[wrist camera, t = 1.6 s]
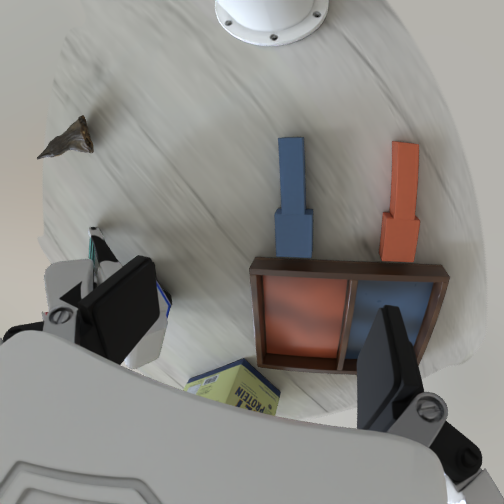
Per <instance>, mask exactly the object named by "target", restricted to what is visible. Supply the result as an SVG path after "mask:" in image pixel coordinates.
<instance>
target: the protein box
mask: <svg viewBox="0 0 504 504" xmlns="http://www.w3.org/2000/svg"><path fill="white" fill-rule="evenodd" d="M183 391H186V392H189V393H192V394H195V395H198V396H201V397H205V398H208V399H211V400H214V401H218V402H221V403H225V404H228V405H232V406H235V407H239V408H243V409H247V410H251V411H255V412H259V413H264V414H268V415H273V416H275V414H276V410H277V406H278V402H279V398H280V393H281V392H280V391H279V390H278V389H277V388H275V387H274V386H273V385H272V384H271V383H270V382H269V381H268V380H267V379H265V378H264V377H263V376H262V375H261V374H260V373H259V372H258V371H257V370H256V369H255V368H253V367H252V366H251V365H250V364H249V363H248V362H247V361H246V360H245V359H244V358H243V359H241V360H238V361H236V362H233V363H231V364H228V365H226V366H223V367H221V368H218V369H215V370H213V371H210V372H207V373H204V374H202V375H199V376H196V377H193V378H190V379H189V381H188V383H187V384H186V386H185V388H184V390H183Z"/></svg>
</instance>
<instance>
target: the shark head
mask: <svg viewBox="0 0 504 504" xmlns="http://www.w3.org/2000/svg"><path fill="white" fill-rule="evenodd" d="M87 128H88V127H87V123H86V119H85V117H84V115H82V116H80V117H79V118H78V120H77V121H76V122H74V123H73V124H72V125H71V126H70V127H69V128H68V129H67V131H66V132H64V133H63V134H62V135H60V136H57V137H55V138H54V139H53V140H52V141H50V143H49V144H48V146H47V148H46V149H45V150H44V151H43V152H42V153H41V154H40V155H39V156H38V157H37V159H41V158H44V157H54V156H59V155H62V154H63V153H64V152H66V151H68V150H75V151H79V152H89V153H93V152H94V150H93V143H92V141H91V139H90V136H89V134H88V131H87Z"/></svg>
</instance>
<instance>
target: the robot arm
mask: <svg viewBox="0 0 504 504" xmlns="http://www.w3.org/2000/svg"><path fill="white" fill-rule="evenodd" d="M328 7H329V0H215V11H216V16H217V18H218V20H219V22H220V24H221V25H222V26H223V27H224V29H225V30H227V31H228V32H229V33H230V34H231V35H233V36H234V37H236V38H237V39H240V40H242V41H244V42H247V43H251V44H255V45H262V46H279V45H284V44H290V43H293V42H296V41H298V40H301V39H303V38H305V37H307V36H308V35H310V34H311V33H313V32H314V31H315V30H316V29H318V27H319V26H320V25H321V24H322V23H323V21H324V19H325V17H326V15H327V12H328ZM315 16H319V17H318V18H317V17H315ZM230 24H232V25H231V26H229V25H230ZM274 38H277V40H275V41H273V39H274ZM78 306H79V309H78V310H77V311H76V309H75V307H73V306H72V305H68V304H62V305H58V306H56V307H54V308H52V309H51V310H50V311H49V312H48V313H47V315H46V317H45V321H43V322H36V323H31V324H25V325H19V326H14V327H11V328H10V329H9V330H8V331H7V332H6V333H5V335H4V337H3V340H2V338H0V504H504V498H503V496H502V495H501V493H500V491H499V490H498V488H497V486H496V485H495V483H494V481H493V480H492V478H491V477H490V475H489V473H488V472H487V470H486V469H484V470H482V469H481V468H480V467H481V465H482V454H481V451H480V449H479V448H478V447H477V446H476V445H475V444H474V443H473V442H471V441H470V440H469V439H468V438H466V437H465V436H464V435H463V434H462V433H460V432H459V431H458V430H457V429H455V428H454V427H453V426H452V425H451V424H449V423H448V422H447V421H446V419H447V416H448V408H447V405H446V403H445V402H444V400H443V399H442V398H441V397H440V396H438V395H437V394H435V393H430V392H424V388H423V384H422V379H421V375H420V371H419V367H418V363H417V359H416V355H415V351H414V347H413V344H412V342H410V341H409V339H408V335H407V332H406V328H405V325H404V321H403V318H402V315H401V312H400V308H399V307H398V306H392V305H384V307H383V308H381V307H380V308H379V309H378V311H377V314H376V316H375V319H374V321H373V324H372V326H371V329H370V331H369V333H368V336H367V338H366V340H365V342H364V345H363V347H362V349H361V351H360V354H359V356H358V359H357V413H358V414H357V429H355V428H346V427H337V426H330V425H323V424H317V423H310V422H305V421H299V420H293V419H288V418H282V417H278V416H273V415H268V414H264V413H259V412H255V411H251V410H247V409H243V408H239V407H235V406H232V405H228V404H225V403H221V402H218V401H214V400H211V399H208V398H205V397H201V396H198V395H195V394H192V393H189V392H186V391H183V390H181V389H178V388H175V387H172V386H169V385H167V384H164V383H162V382H159V381H156V380H154V379H151V378H149V377H146V376H144V375H141V374H139V373H137V372H134V371H132V370H130V369H127V368H125V367H123V366H121V363H122V362H123V361H124V360H125V358H126V357H127V356H128V355H129V354H130V352H131V351H132V350H133V349H134V347H135V346H136V345H137V344H138V343H139V341H140V340H141V339H142V338H143V336H144V335H145V334H146V333H147V332H148V330H149V329H150V328H151V327H152V326H153V324H154V323H155V322H156V321H157V320H158V318H159V316H160V307H159V300H158V292H157V283H156V273H155V264H154V262H152V260H151V258H149V257H144V256H140V255H138V256H136V257H135V258H134V259H132V260H131V261H130V262H128V263H127V264H126V265H124V266H123V267H122V268H120V269H119V270H118V271H117V272H115V273H114V274H113V275H111V276H110V277H109V278H108V279H106V280H105V281H104V282H103V283H101V284H100V285H99V286H98V287H96V288H95V289H94V290H93V291H91V292H90V293H89V294H88V295H87V296H85V297H84V298H83V299H82V300H80V301H79V302H78Z"/></svg>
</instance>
